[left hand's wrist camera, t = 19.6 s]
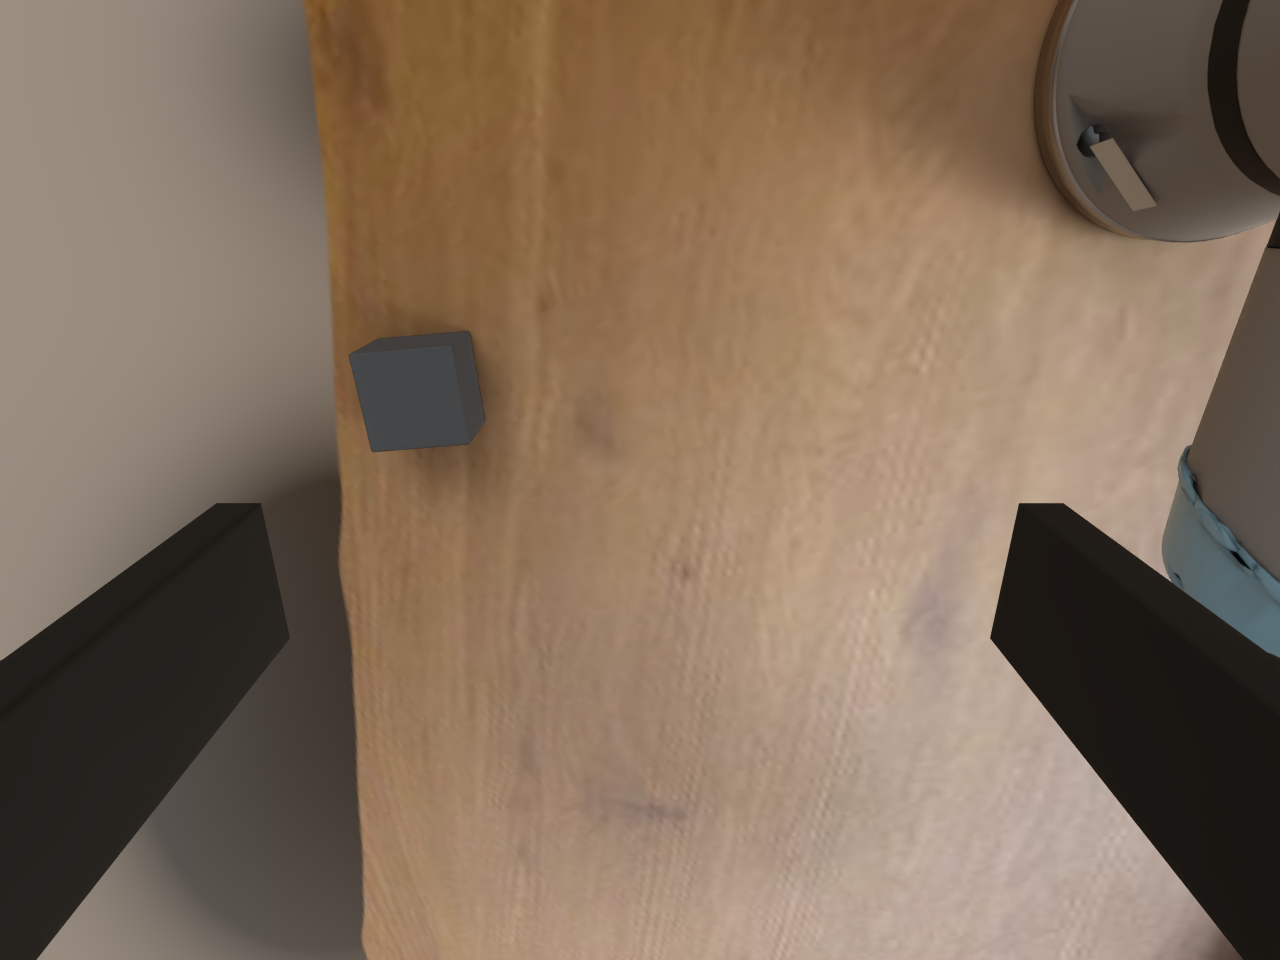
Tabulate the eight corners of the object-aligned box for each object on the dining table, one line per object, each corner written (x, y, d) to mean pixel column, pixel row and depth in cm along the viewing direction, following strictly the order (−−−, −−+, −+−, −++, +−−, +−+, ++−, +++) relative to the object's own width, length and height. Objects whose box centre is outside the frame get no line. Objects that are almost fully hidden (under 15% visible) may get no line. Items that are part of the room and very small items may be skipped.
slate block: (376, 338, 38) (347, 354, 34) (469, 330, 38) (451, 345, 34) (396, 428, 40) (371, 452, 36) (485, 421, 40) (469, 444, 36)
